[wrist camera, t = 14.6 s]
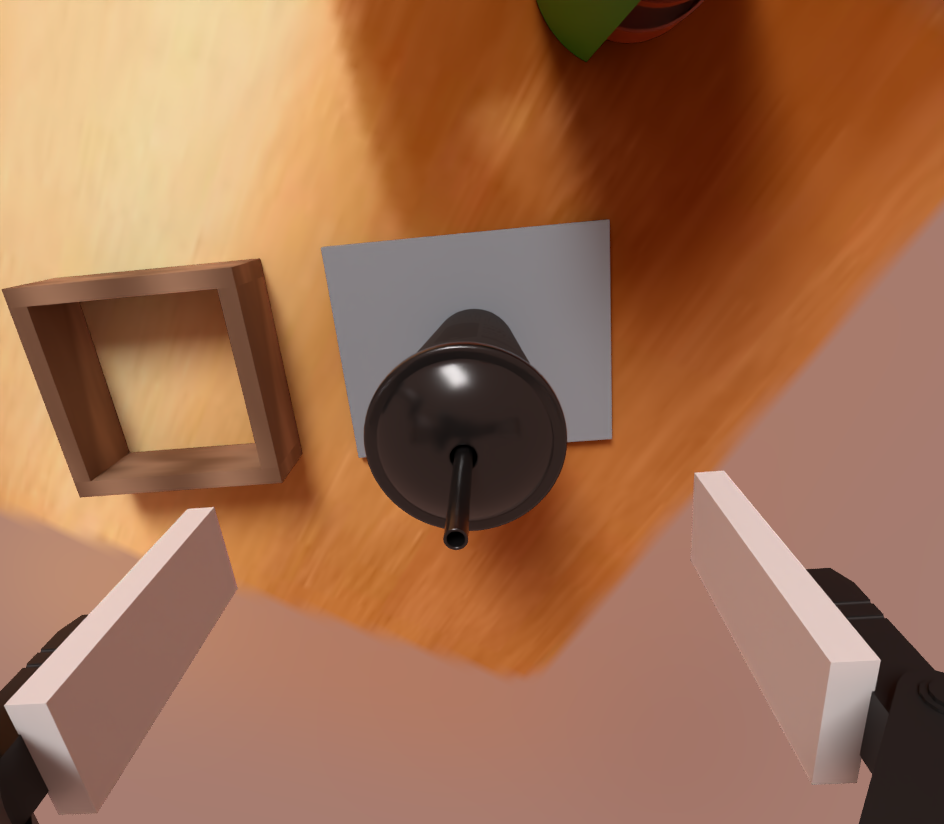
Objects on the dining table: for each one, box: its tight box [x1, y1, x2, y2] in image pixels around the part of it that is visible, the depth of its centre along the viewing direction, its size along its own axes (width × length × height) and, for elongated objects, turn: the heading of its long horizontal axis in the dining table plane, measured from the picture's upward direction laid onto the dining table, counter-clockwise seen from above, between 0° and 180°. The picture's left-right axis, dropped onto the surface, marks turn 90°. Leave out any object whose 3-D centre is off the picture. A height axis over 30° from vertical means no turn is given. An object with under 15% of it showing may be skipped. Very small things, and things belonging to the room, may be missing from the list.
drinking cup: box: [364, 309, 567, 550], centre depth 25 cm, size 8×8×20 cm
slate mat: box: [321, 219, 612, 458], centre depth 35 cm, size 16×13×1 cm
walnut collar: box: [2, 259, 302, 497], centre depth 34 cm, size 12×12×4 cm
